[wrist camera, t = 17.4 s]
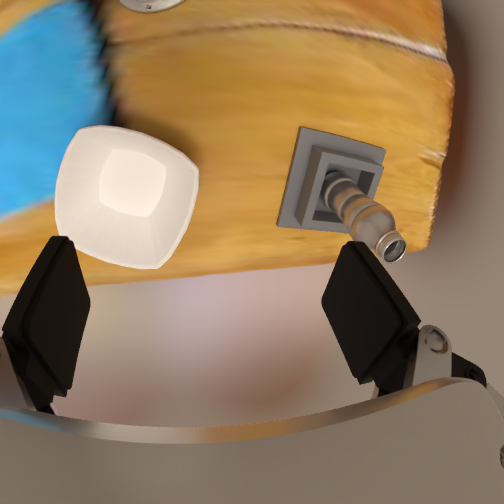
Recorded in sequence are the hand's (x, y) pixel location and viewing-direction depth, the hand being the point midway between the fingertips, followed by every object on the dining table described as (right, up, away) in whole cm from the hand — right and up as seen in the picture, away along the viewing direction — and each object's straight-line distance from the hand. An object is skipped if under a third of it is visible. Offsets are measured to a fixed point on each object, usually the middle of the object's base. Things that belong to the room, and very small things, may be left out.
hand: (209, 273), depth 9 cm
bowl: (-18, +12, +32) cm, 39 cm away
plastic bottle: (+15, +12, +37) cm, 42 cm away
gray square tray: (+16, +13, +38) cm, 43 cm away
